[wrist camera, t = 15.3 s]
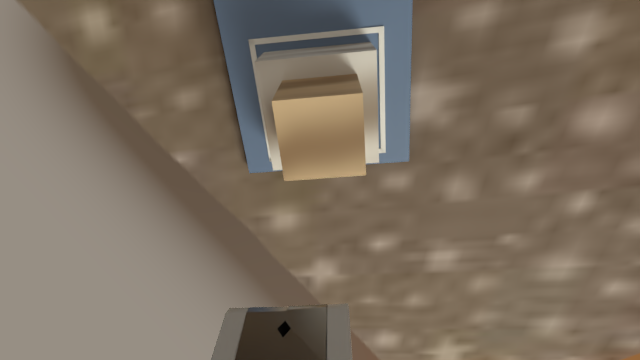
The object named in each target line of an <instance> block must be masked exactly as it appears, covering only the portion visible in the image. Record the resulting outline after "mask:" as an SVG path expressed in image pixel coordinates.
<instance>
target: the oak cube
mask: <svg viewBox="0 0 640 360" xmlns="http://www.w3.org/2000/svg"><path fill="white" fill-rule="evenodd" d="M272 107H273V113H274V119H275V126H276V132H277V138H278V145H279V151H280V157H281V163H282V170H283V176H284V181H293V180H306V179H320V178H334V177H348V176H362V175H366V160H365V134H364V109H363V92H362V89H361V86H360V82H359V79H358V76H357V74H348V75H337V76H326V77H315V78H304V79H293V80H282V82H281V84H280V86H279V88H278V90H277V92H276V93H275V95H274V97H273V99H272Z"/></svg>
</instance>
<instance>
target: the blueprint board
mask: <svg viewBox="0 0 640 360" xmlns="http://www.w3.org/2000/svg"><path fill="white" fill-rule="evenodd" d="M214 5H215V10H216V15H217V20H218V24H219V29H220V34H221V39H222V44H223V48H224V53H225V58H226V63H227V68H228V73H229V77H230V82H231V87H232V92H233V97H234V101H235V106H236V111H237V116H238V121H239V125H240V130H241V135H242V140H243V145H244V149H245V154H246V159H247V164H248V169H249V173H258V172H271V171H273V167H272V162H271V156H270V150H269V144H268V139H267V133H266V127H265V121H264V115H263V110H262V104H261V98H260V92H259V87H258V81H257V75H256V69H255V63H254V61H256V60H257V59H258V58H259V57H260V56H261V55H262V54H263V53H264V52H271V51H282V50H292V49H302V48H313V47H323V46H333V45H343V44H354V43H364V42H371V43H372V44H373V46H374V47H375V48H376V50H377V87H378V135H379V163H392V162H405V161H409V138H410V90H411V43H412V0H214ZM367 164H378V163H367ZM274 171H283V170H274Z"/></svg>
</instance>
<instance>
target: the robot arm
mask: <svg viewBox="0 0 640 360" xmlns="http://www.w3.org/2000/svg"><path fill="white" fill-rule="evenodd" d="M211 360H352V349H351V333H350V318H349V306H348V304H324V305H306V306H289V307H259V308H258V307H253V308H230V309H229V310H228V311H227V313H226V314H225V318H224V320H223V324H222V327H221V330H220V333H219V336H218V339H217V342H216V346H215V349H214V352H213V355H212V358H211Z"/></svg>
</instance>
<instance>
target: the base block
mask: <svg viewBox="0 0 640 360" xmlns="http://www.w3.org/2000/svg"><path fill="white" fill-rule="evenodd" d="M254 63H255V69H256V75H257V81H258V87H259V92H260V98H261V104H262V110H263V115H264V121H265V127H266V133H267V139H268V144H269V150H270V156H271V162H272V167H273V171H274V170H282V163H281V157H280V151H279V145H278V138H277V132H276V126H275V119H274V113H273V107H272V99H273V97H274V95H275V93H276V92H277V90H278V88H279V86H280V84H281V82H282V80H293V79H304V78H315V77H326V76H337V75H348V74H357V76H358V79H359V82H360V86H361V89H362V92H363V109H364V134H365V160H366V164H367V163H379V135H378V87H377V50H376V48H375V47H374V46H373V44H372V43H371V42H364V43H354V44H343V45H333V46H323V47H313V48H302V49H292V50H282V51H271V52H264V53H263V54H262V55H261V56H260V57H259V58H258V59H257V60H256V61H254Z"/></svg>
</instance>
